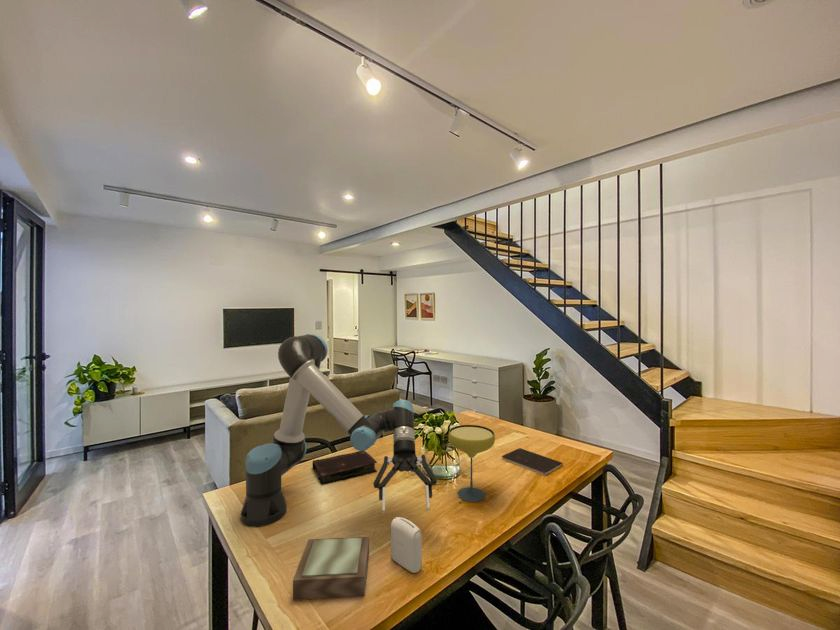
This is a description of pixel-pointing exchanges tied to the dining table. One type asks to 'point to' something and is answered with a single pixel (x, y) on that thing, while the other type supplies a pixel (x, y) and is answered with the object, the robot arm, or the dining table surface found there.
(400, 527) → the photo printer
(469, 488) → the cocktail glass
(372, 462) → the diary
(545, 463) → the hardcover book
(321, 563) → the block
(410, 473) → the handheld gaming device
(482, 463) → the dining table surface
